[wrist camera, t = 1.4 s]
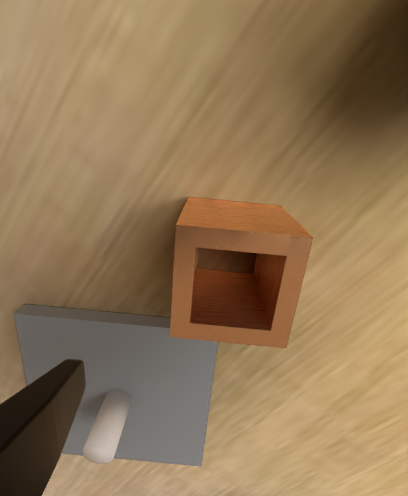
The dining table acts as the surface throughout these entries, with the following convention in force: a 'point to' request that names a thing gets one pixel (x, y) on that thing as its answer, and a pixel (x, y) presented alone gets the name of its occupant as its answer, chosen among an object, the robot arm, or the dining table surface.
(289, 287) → the hollow wooden cube
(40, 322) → the stand
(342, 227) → the dining table surface
